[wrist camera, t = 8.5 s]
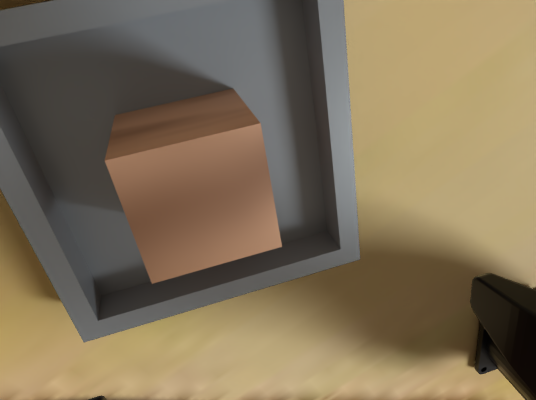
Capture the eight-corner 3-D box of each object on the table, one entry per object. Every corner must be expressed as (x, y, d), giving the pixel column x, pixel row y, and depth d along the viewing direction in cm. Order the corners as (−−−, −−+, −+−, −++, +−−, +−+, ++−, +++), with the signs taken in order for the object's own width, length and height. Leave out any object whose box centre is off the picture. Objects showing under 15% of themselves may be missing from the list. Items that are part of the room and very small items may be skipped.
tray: (341, 234, 24) (360, 259, 22) (89, 308, 22) (83, 342, 20) (316, -50, 17) (339, -54, 15) (-56, 20, 15) (-88, 27, 13)
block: (253, 190, 20) (282, 246, 16) (150, 217, 20) (152, 283, 16) (233, 88, 18) (260, 123, 14) (115, 115, 17) (104, 160, 13)
